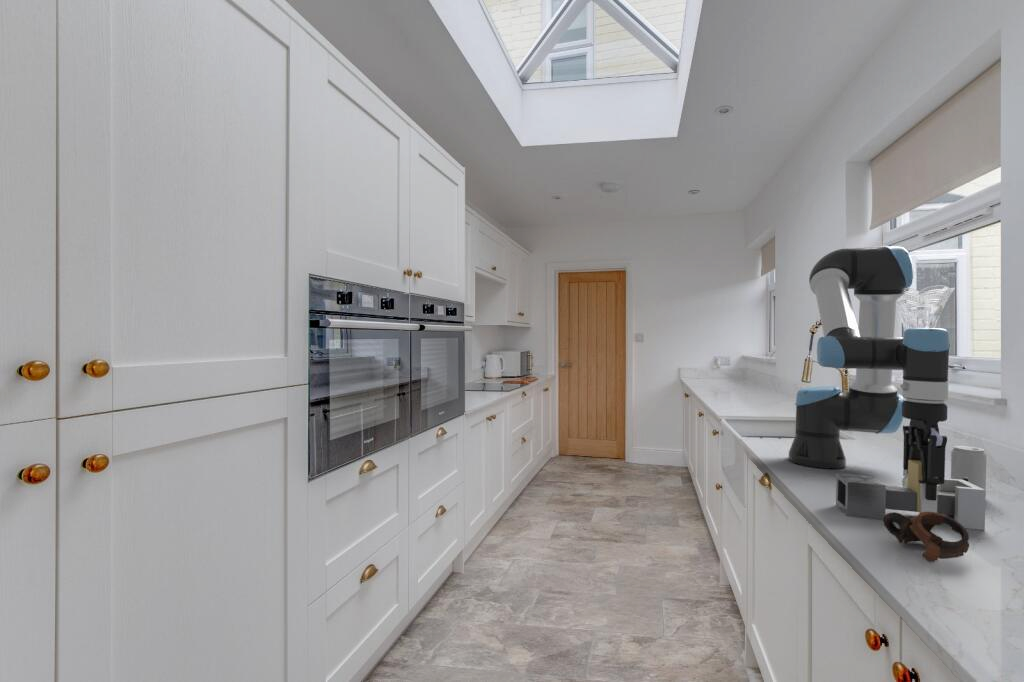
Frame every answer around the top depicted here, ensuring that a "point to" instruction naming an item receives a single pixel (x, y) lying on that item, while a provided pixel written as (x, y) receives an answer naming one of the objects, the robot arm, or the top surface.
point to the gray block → (860, 496)
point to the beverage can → (969, 465)
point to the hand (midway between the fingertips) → (921, 510)
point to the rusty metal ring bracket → (928, 534)
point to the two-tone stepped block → (917, 494)
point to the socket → (967, 503)
